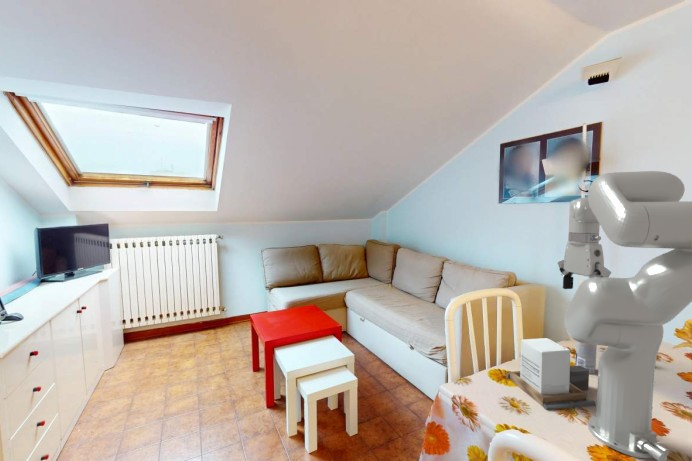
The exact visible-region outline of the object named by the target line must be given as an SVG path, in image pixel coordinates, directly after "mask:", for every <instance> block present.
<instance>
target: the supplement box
mask: <svg viewBox="0 0 692 461" xmlns="http://www.w3.org/2000/svg"><path fill="white" fill-rule="evenodd" d="M519 365H520V369H519V371H520V378H521V379H523V380H524V381H525V382H526V383H528V384H529V385H530V386H532V387H533V388H534V389H535V390H537V391H538V392H539V393H541V394H542V395H543V396H544V395H556V394H568V393H569V377H570V366H571V349H569V348H567V347H565V346H562V345H561V344H559V343H557V342H555V341H553V340H552V339H550V338H547V337H543V338H541V337H540V338H524V339H521V340H520V364H519Z"/></svg>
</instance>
